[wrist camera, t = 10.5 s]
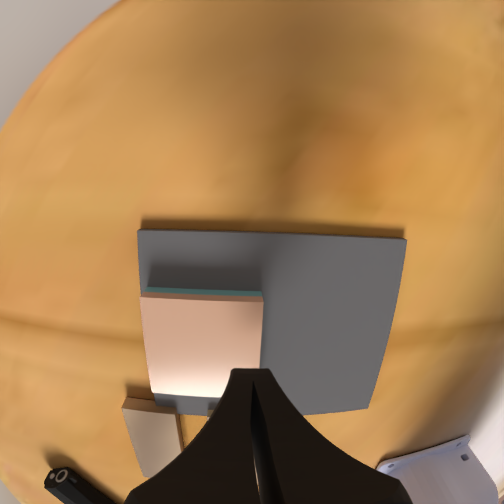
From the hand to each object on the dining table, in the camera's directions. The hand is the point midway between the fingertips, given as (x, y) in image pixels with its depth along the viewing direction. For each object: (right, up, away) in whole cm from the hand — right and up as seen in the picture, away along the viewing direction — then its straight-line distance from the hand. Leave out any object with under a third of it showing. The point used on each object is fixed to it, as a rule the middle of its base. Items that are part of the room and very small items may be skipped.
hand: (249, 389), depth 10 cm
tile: (0, +1, +3) cm, 3 cm away
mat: (+1, +1, +4) cm, 4 cm away
